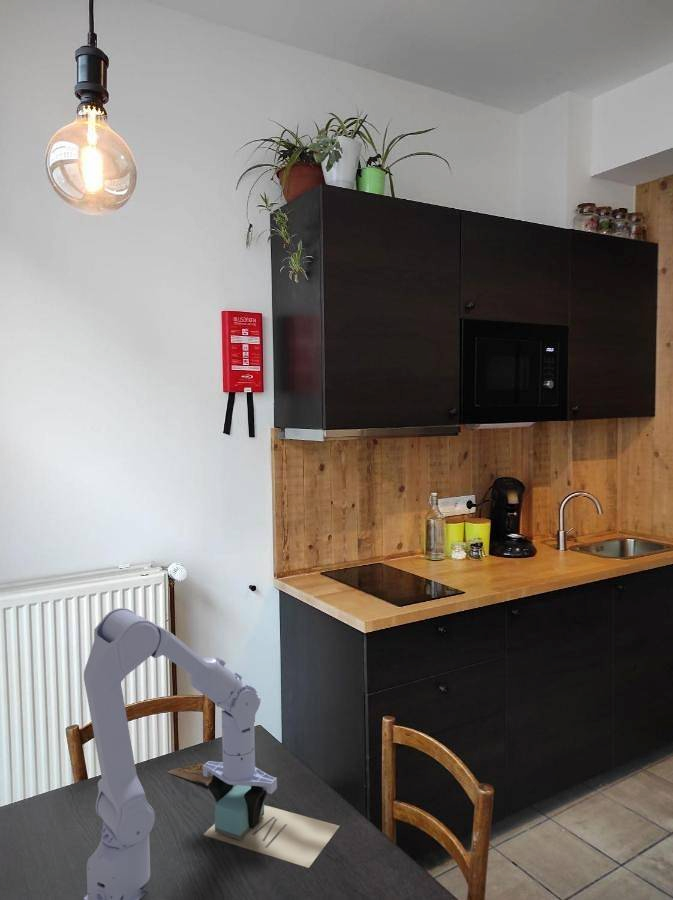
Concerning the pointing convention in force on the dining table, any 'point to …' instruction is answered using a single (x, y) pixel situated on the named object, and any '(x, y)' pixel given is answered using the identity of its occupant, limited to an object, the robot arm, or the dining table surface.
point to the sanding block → (233, 813)
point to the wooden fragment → (192, 773)
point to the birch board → (284, 836)
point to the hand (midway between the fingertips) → (240, 821)
